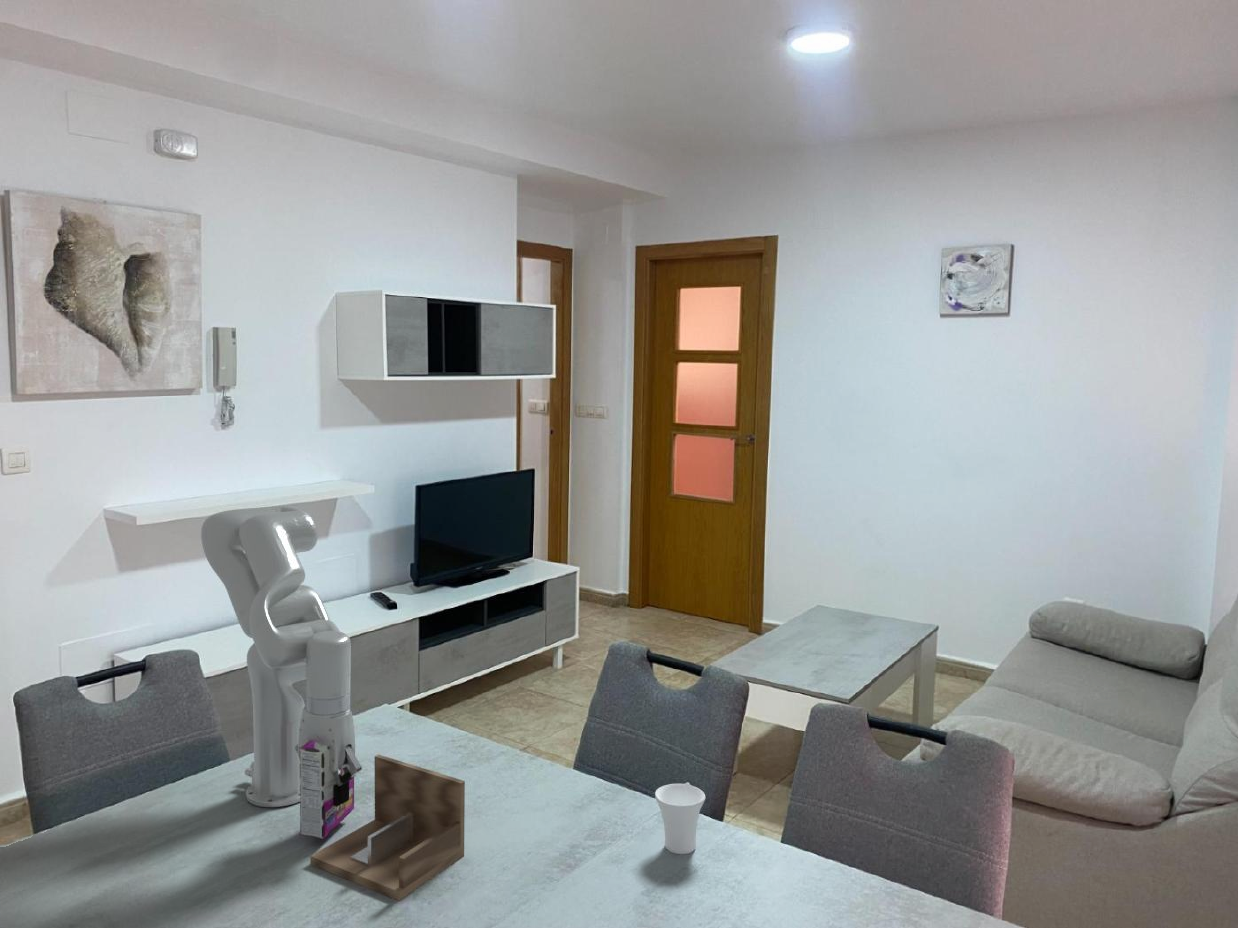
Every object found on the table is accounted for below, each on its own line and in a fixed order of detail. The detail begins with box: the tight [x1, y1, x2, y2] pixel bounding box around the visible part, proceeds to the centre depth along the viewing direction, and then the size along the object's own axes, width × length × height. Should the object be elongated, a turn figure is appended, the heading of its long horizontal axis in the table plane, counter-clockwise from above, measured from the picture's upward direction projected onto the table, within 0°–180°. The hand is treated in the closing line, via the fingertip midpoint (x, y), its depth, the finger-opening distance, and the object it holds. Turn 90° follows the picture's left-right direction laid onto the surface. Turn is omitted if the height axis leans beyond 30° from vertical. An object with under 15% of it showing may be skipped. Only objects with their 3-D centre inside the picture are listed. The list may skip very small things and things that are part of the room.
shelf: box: [309, 754, 466, 901], centre depth 158 cm, size 20×16×14 cm
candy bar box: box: [299, 740, 355, 840], centre depth 166 cm, size 11×5×16 cm, turn 168°
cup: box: [654, 782, 706, 855], centre depth 165 cm, size 9×9×10 cm
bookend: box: [350, 812, 413, 867], centre depth 159 cm, size 5×10×5 cm, turn 150°
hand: (327, 796), depth 166 cm, fingers closed on candy bar box, 6 cm apart
